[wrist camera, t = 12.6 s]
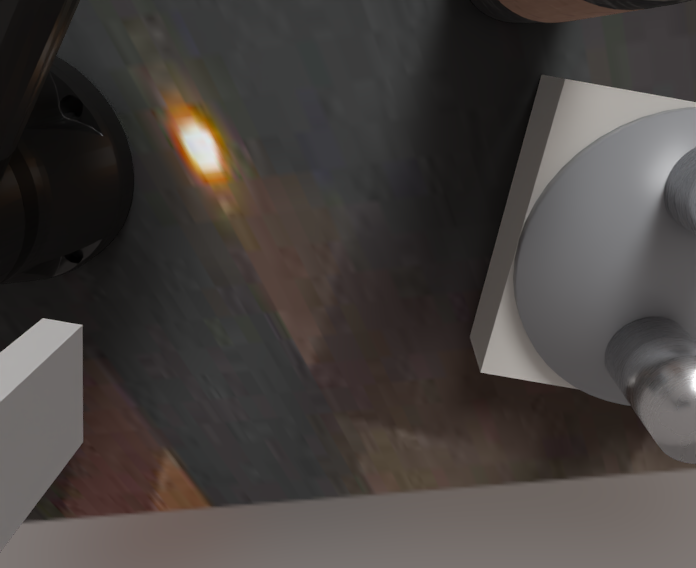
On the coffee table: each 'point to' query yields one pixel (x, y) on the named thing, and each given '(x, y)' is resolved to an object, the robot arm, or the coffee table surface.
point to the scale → (587, 236)
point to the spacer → (658, 380)
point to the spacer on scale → (682, 192)
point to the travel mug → (561, 9)
